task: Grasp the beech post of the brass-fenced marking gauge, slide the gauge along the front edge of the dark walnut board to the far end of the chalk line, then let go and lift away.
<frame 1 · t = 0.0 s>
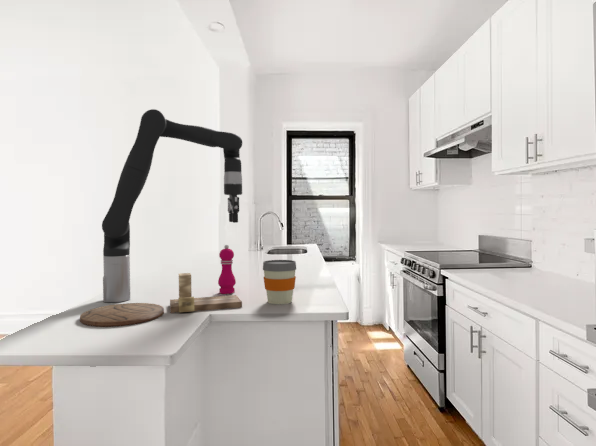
hand: (233, 222, 171), 29 cm above the counter, fingers open, 8 cm apart
marking gauge: (185, 291, 143), point 6 cm above the counter, slide at 0.0 cm
walnut board: (205, 306, 147), on the counter
trivet: (123, 317, 133), on the counter
reusable coffee cup: (279, 302, 153), on the counter
pepper mill: (227, 293, 171), on the counter
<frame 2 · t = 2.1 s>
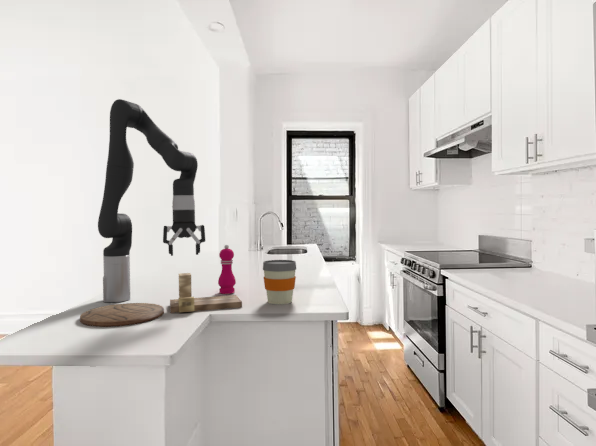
hand: (184, 255, 144), 19 cm above the counter, fingers open, 8 cm apart
nothing on the counter moved.
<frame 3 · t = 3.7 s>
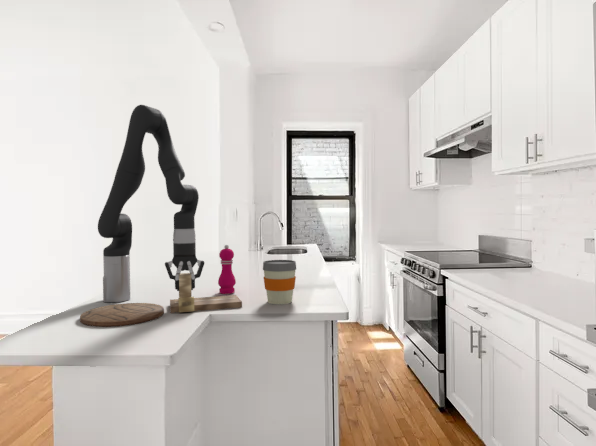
hand: (185, 290, 144), 6 cm above the counter, fingers closed on marking gauge, 4 cm apart
marking gauge: (185, 291, 143), point 6 cm above the counter, slide at 0.0 cm, touching gripper
everything else where it was.
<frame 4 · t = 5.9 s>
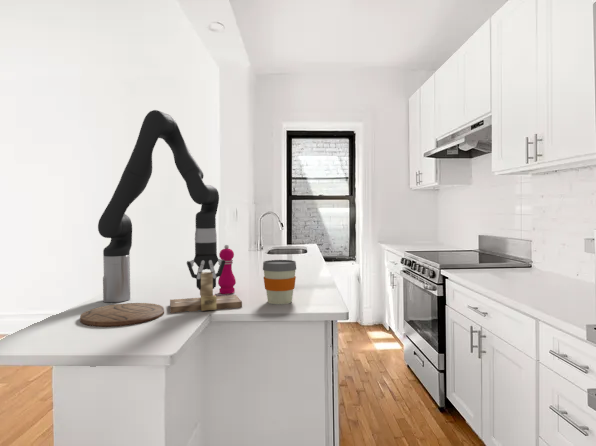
hand: (206, 288, 147), 6 cm above the counter, fingers closed on marking gauge, 4 cm apart
marking gauge: (206, 289, 145), point 6 cm above the counter, slide at 7.3 cm, touching gripper
everything else where it was.
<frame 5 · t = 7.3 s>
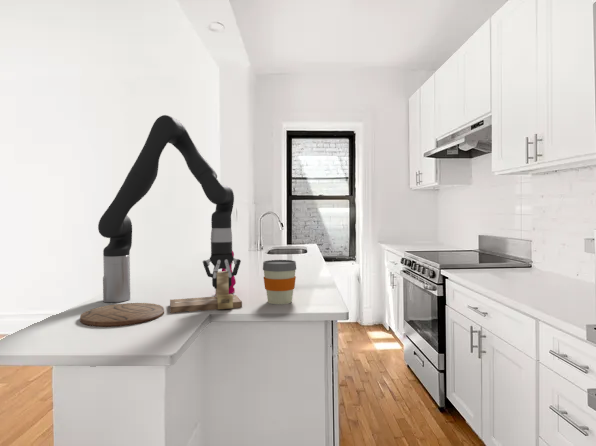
hand: (222, 287, 148), 6 cm above the counter, fingers closed on marking gauge, 4 cm apart
marking gauge: (222, 288, 147), point 6 cm above the counter, slide at 12.9 cm, touching gripper
everything else where it was.
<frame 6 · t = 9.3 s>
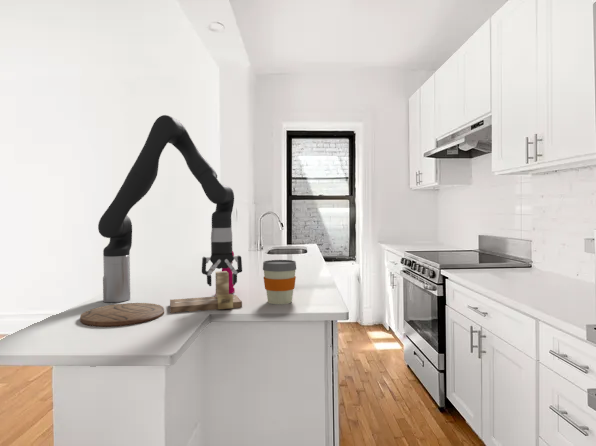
hand: (222, 285, 148), 7 cm above the counter, fingers open, 8 cm apart
marking gauge: (222, 288, 147), point 6 cm above the counter, slide at 12.9 cm
everything else where it was.
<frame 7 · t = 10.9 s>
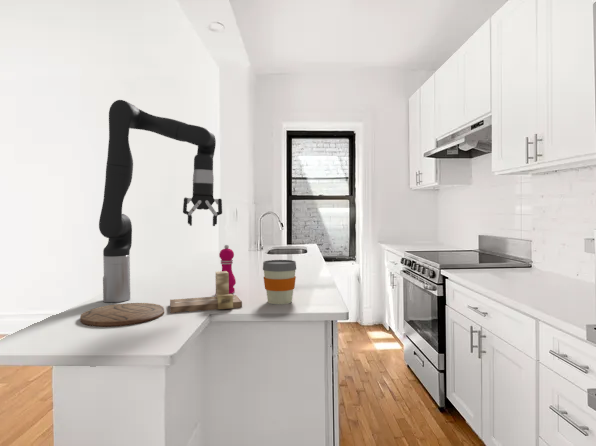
hand: (202, 225, 154), 28 cm above the counter, fingers open, 8 cm apart
nothing on the counter moved.
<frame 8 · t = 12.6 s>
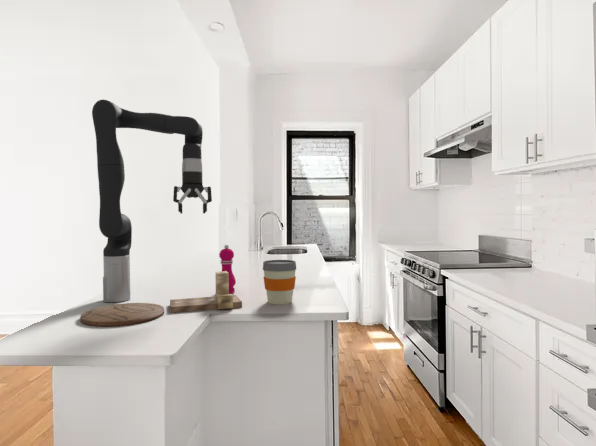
hand: (192, 213, 158), 33 cm above the counter, fingers open, 8 cm apart
nothing on the counter moved.
at the end: marking gauge slide at 12.9 cm; the gripper is holding nothing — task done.
